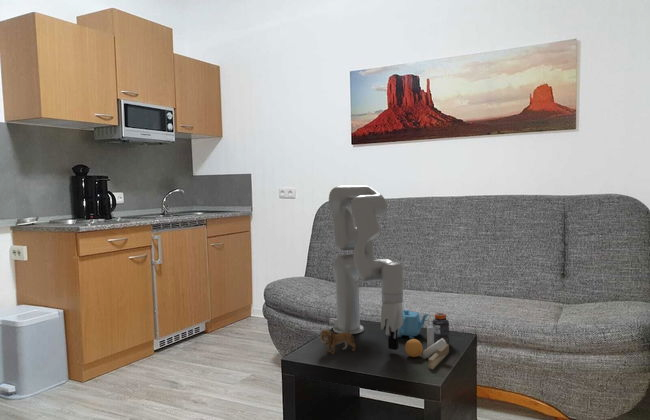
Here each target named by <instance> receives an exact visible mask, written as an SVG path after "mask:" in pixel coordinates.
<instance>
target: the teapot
mask: <svg viewBox="0 0 650 420" xmlns="http://www.w3.org/2000/svg"><path fill="white" fill-rule="evenodd" d="M420 316H421V315H420V312H417V311H410V310H409V309H403V325H402V326H401V327H400V329H399V336H398V338H402V337H403V336H406V337H407V336H408V338H409V339H410V340H411V339H415V337H417V336H418V335H419V334H420V332H421V329H422V328H423V327H424V325H425V322H426V318H427V317H428V316H430V313H425V314H423V315H422V317H420Z"/></svg>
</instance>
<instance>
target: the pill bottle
mask: <svg viewBox="0 0 650 420" xmlns="http://www.w3.org/2000/svg"><path fill="white" fill-rule="evenodd" d="M432 326H433V327H434V343H436V342H437V341H439V340H440V339H441V338H443V339H444V340H445V341H446V344H449V345H450V321H449V319H447V314H446V313H444V312H437V313H435V314H434V319H432Z"/></svg>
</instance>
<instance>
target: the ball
mask: <svg viewBox="0 0 650 420" xmlns="http://www.w3.org/2000/svg"><path fill="white" fill-rule="evenodd" d="M404 350H405V352H406V354H407V355H408V356H409V357H411V358H417V357H419V356H420V355H421V354H423V353H422V352H423V351H424V349H423V344H422V343H421V341H420V340H418V339H416V338H413V339H411V338H410V339H409V340H407V341H406V342H405V346H404Z"/></svg>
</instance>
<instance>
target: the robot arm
mask: <svg viewBox="0 0 650 420" xmlns="http://www.w3.org/2000/svg"><path fill="white" fill-rule="evenodd" d="M328 205H329V209H330V213H331V217H332V220H333V221H332V223H333V224H332V225H333V235H334V236H333V237H334V243H335V248H336V250H338V251H340V252H350V251H353V253H344V254H341V255H338V256H336V257H335V258H334V259H333V263H332V268H333V273H334V281H335V294H336V295H335V297H336V299H335V301H336V318H334V317H330V318H329V319H328V320H329V322H328V323H329V324H330V325H334V326H333V329H332V330H333V332H334V333H335V334H340V333H344V332H348V333H350V334H351V335H357V334H361V333H363V332H364V330H365V329H364V326H363V325H361V320H360V318H361V316H360V313H361V312H360V289H359V288H360V287H359V284H358V283H357V281H356V280H355V279H354V278H356V277H358V278H359V279H360V280H361V281H363V282H375V281H381V302H382V303H381V310H380V311H381V312H380V330H381V331H385V336H387V343H388V349H390V350H394V351H397V350H398V349H399V337H398V336H399V329H400V327H401V326H402V325H403V310H404V309H403V303H404V279H403V278H404V277H403V275H404V274H403V273H404V271H403V265H402V263H401V262H397V261H393V260H391V259H389V258H381V259H375V256H374V255H375V253H374V243H373V240H374V239H376V238H378V236H380V234H381V228H380V227H381V226H380V224H379V220H378V218H377V217H382V216H384V215H385V214H386V213H387V210H388V203H387V201H386V199H385V197H384V196H383V195H382V194H381V193H379V192H378V191H376V190H375V189H374V188H373V187H371V186H370V185H364V184H363V185H362V184H358V185H350V184H348V185H346V184H345V185H338V186H335V187H333V188H331V190H330V192H329V195H328ZM348 207H350V208H351V211H350V209H349V208H348ZM355 226H356V227H355Z"/></svg>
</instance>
